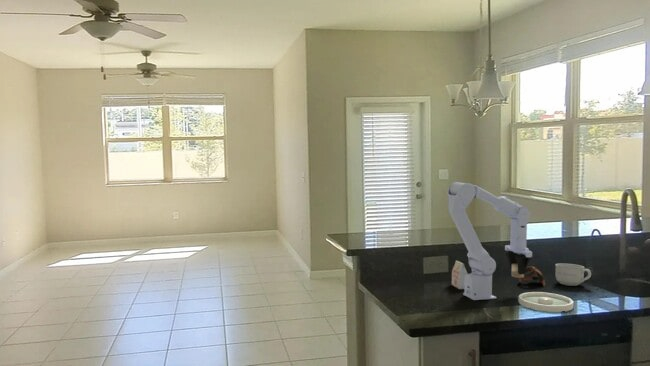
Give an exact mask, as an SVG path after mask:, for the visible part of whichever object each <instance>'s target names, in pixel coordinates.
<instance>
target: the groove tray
mask: <svg viewBox="0 0 650 366" xmlns="http://www.w3.org/2000/svg"><path fill="white" fill-rule="evenodd" d="M574 301H575V300H573V299H572V298H570V297H568V296H565V295H562V294H557V293H553V292H552V293H551V292H543V291H531V292H530V291H529V292H523V293H520V294H519V295H518V303H519V305H520V306H522V307H525V308H527V309H530V308H531V310H534V309H535V311H540V310H541V312H546V311H547V313H548V312H550V313H563V312H562V311H565V312H569V311H572V310H573V308H574Z"/></svg>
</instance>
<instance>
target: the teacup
mask: <svg viewBox="0 0 650 366" xmlns="http://www.w3.org/2000/svg"><path fill="white" fill-rule="evenodd" d="M585 272H587V276H586V277H584V274H585ZM554 275H555V279H556V281H557V282H559V284H560V285H564V286H575V287H576V286H577V287H578V286H579V285H580V284H582V283H584V282H585V281H586V280H587V281H588V280H589V279H590V278H591V276H592V272H591V270H590V269H589V268H586V267H585V266H583V265H580V264H574V263H564V262H563V263H555V274H554Z"/></svg>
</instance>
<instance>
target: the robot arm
mask: <svg viewBox="0 0 650 366" xmlns="http://www.w3.org/2000/svg"><path fill="white" fill-rule="evenodd" d="M447 189H448V190H447V192H446V195H447V197H448V204H447V205H448V213H449V215H450V217H451V219H452V221H453V223H454V225H455V228H456V229H457V231H458V234H459V235H460V237H461V240H462V242H463V244H464V245H465V247H466V250H467V251H468V252H467V254H466V256H467V257H468V258H467V259H468V265H469V267H470V269H471V272H470V273H468V274H467V275H466V276H465V281H464V289H463V290H464V291H463V293H462V294H463V296H466V297H467V298H469V299H470V300H472V301H479V300H480V301H481V300H495V299H497V296H495V295H493V293H492V292H493V289H492V288H493V273H494V272H495V271H496V268H497V263H496V260H495V259H494V258H493V257H491V256H490V253H489V252H487V250H486V249H485V248H484V247H483V246H482V243H481V241H480V240H479V237H478V235H477V233H476V231H475V229H474V226H473V225H472V222H471V221H470V219H469V217H468V214H467V213H466V209H467V207H468V206H469V205H470V203H471V202H472V201H473V199H480V200H481V201H484V202H487V204H491V205H492V206H493V208H494V210H495V211H497V212H499V213H501V214H503V215H505V216H507V217H508V218H509V219H510V236H509V238H510V239H509V241H510V243H509V244H508V245H507V244H506V245H504V250H505V251H507V252H505V253H504V255H505V256H506V259H507V260H508V264H509V269H510V272H512V264H514V263H517V264H518V273H519V274H526V273H525V270H526V268H527V267H528V264H529V262H530V261H531V259H532V258H533V251H531V250H530V249H529V248H528V247H527V238H528V237H527V234H528V233H527V231H528V226H527V225H528V221H529V220H530V218H531V214H532V213H531V212H530V210H529V209H528V207H527V206H525V205H520V203H519V202H518V201H513V200H511V199H509V196H507V195H504V196H503V195H501V196H496V195H494V194H493V193H491V192H489V191H488V190H485V189H483V188H482V187H480V186H479V185H475V184H472V183H469V182H467V183H466V182H459V181H454V182H452V183H451V184H450V185H449V187H448V188H447Z"/></svg>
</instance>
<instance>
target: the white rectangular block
mask: <svg viewBox="0 0 650 366" xmlns="http://www.w3.org/2000/svg"><path fill="white" fill-rule="evenodd" d="M467 271H468V270H467V269H466V267H465V263H463V262H461V261H459V260H455V262H454V265H453V267H452V269H451V286H453V287H455V288H456V289H458V290H464V281H465V276H466V275H467V274H469V273H468V272H467Z"/></svg>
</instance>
